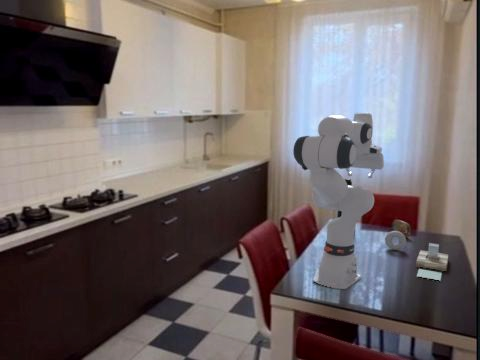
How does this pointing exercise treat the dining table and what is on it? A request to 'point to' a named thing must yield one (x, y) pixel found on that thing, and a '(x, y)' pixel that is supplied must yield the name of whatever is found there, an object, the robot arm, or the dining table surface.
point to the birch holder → (432, 261)
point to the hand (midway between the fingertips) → (359, 176)
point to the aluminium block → (433, 251)
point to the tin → (401, 227)
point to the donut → (395, 235)
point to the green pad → (429, 274)
